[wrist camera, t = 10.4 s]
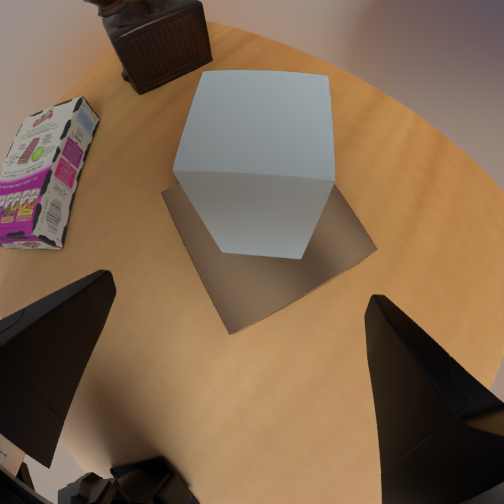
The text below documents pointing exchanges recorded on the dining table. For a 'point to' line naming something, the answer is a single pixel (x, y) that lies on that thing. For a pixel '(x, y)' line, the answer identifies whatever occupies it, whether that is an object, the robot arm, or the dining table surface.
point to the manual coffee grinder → (156, 38)
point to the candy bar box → (44, 175)
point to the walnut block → (269, 261)
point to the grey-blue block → (258, 159)
